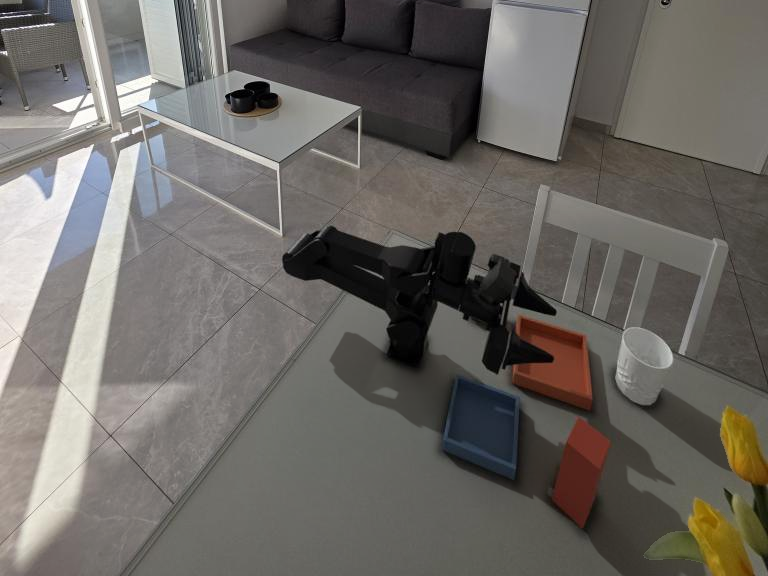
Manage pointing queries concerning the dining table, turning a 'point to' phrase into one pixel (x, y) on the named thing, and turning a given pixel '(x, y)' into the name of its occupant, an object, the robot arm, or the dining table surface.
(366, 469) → the dining table surface
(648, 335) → the white cup
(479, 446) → the blue tray
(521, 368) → the red tray
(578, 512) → the red pillar
